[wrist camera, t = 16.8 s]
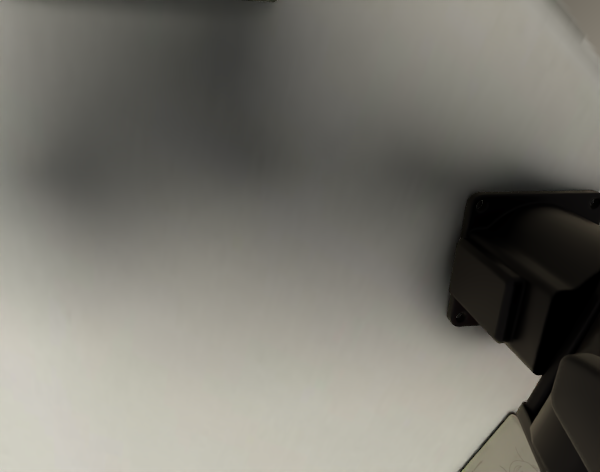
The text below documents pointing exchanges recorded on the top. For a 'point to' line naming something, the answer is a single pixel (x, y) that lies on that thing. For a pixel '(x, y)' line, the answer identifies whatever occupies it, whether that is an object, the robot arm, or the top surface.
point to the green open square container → (265, 0)
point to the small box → (505, 451)
